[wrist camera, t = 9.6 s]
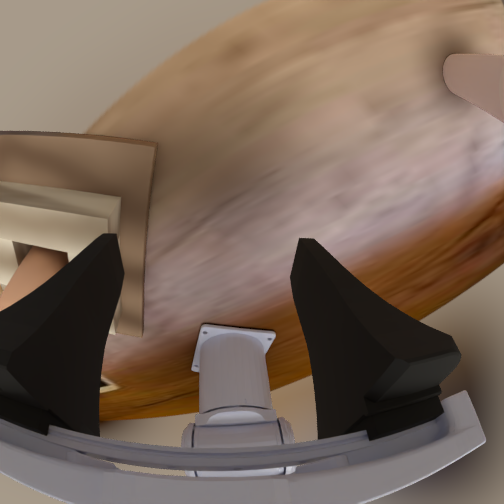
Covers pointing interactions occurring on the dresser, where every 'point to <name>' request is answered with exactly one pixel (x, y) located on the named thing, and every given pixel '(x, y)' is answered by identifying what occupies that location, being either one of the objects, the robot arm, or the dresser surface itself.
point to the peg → (32, 273)
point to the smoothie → (477, 80)
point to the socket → (77, 204)
